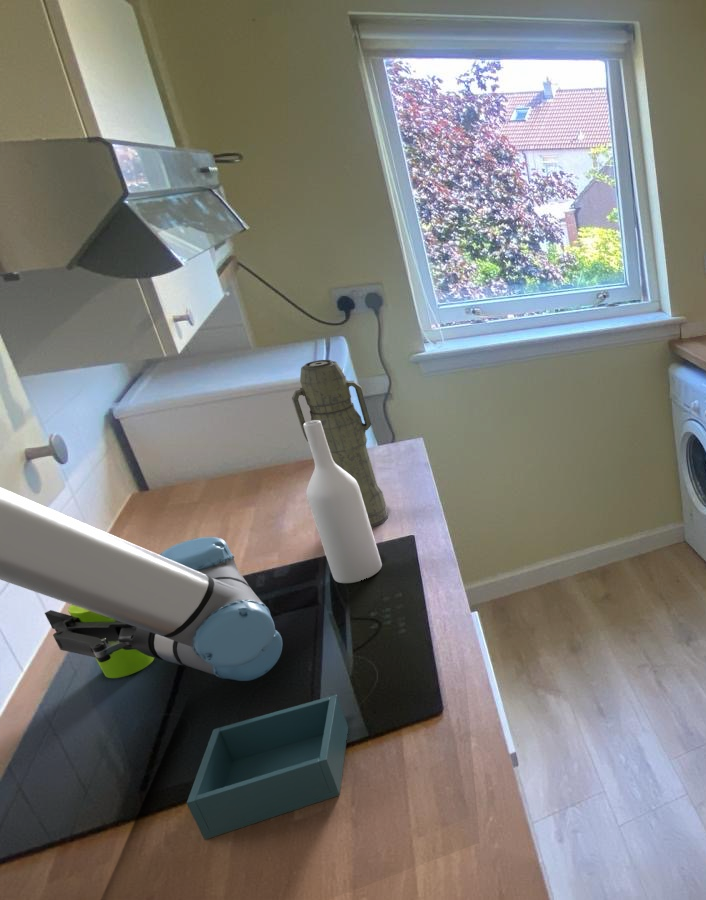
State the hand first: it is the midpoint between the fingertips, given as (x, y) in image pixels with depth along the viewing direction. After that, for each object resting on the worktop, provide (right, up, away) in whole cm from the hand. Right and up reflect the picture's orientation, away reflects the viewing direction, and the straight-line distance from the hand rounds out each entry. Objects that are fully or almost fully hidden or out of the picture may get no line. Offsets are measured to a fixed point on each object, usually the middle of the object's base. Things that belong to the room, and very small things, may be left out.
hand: (78, 606), depth 110 cm
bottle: (+25, 0, +28) cm, 38 cm away
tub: (+43, -18, -18) cm, 50 cm away
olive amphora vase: (+15, +8, +47) cm, 50 cm away
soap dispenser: (+5, -11, +3) cm, 12 cm away
